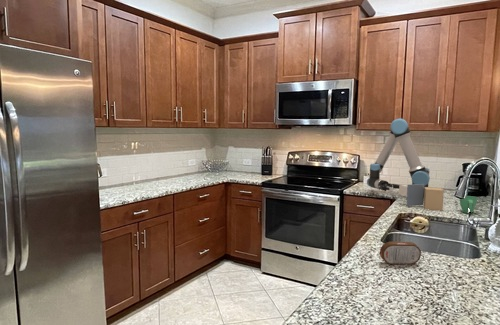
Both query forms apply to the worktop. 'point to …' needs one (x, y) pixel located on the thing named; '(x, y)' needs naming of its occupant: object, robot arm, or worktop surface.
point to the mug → (468, 203)
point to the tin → (400, 253)
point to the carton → (433, 198)
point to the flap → (412, 193)
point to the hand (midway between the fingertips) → (401, 189)
